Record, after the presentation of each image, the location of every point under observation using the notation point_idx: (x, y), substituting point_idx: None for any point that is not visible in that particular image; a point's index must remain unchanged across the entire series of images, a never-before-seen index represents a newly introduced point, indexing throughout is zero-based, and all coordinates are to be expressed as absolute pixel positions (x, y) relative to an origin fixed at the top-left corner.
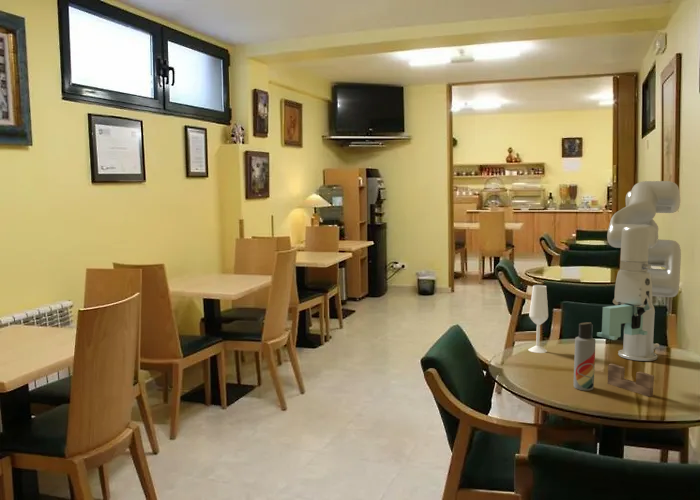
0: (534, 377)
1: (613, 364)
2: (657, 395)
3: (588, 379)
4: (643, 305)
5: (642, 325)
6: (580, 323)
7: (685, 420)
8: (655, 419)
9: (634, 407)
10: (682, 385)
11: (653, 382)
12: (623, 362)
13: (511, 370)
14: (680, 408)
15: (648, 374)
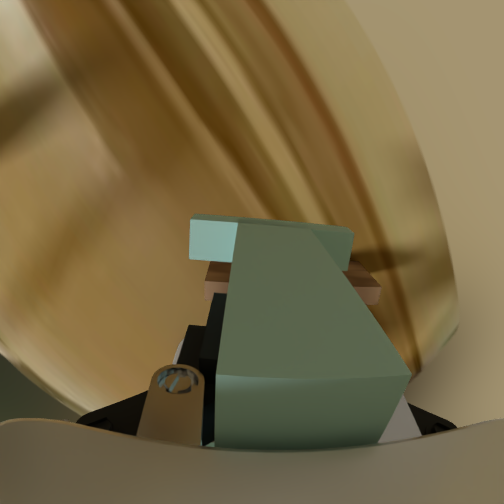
0: (90, 369)
1: (216, 285)
2: (364, 246)
3: None
4: (400, 358)
5: (318, 242)
6: None
7: (450, 339)
8: (410, 378)
9: None
10: (363, 89)
11: (372, 277)
12: (102, 24)
13: (37, 362)
14: (432, 288)
15: (365, 291)
